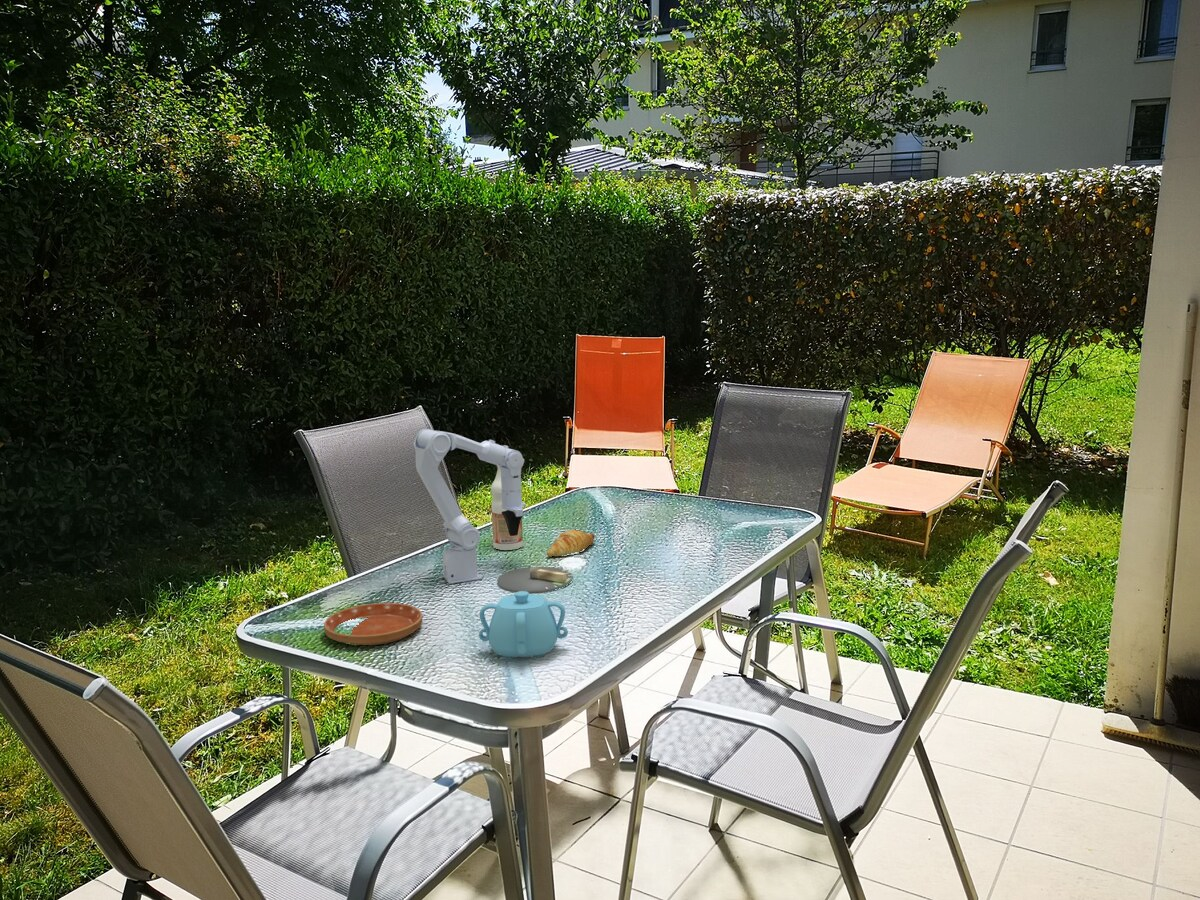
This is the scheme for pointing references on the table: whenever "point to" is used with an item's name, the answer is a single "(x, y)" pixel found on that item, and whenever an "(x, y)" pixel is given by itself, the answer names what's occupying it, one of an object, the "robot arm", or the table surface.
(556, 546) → the croissant
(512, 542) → the fruit juice
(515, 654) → the decorative pot
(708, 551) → the table surface
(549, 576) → the pointer
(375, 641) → the saucer
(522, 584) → the dial
